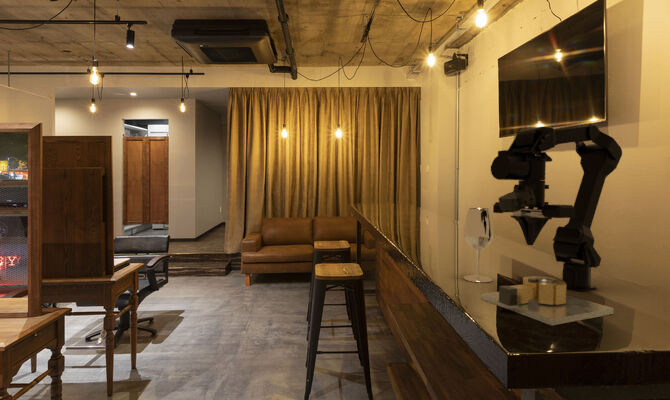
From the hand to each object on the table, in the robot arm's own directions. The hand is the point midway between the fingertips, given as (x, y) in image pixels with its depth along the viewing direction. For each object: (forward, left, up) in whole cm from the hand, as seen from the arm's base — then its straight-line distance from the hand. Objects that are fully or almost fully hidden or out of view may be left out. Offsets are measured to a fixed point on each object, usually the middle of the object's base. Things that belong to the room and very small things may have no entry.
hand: (530, 245), depth 92 cm
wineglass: (+1, -16, -12) cm, 20 cm away
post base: (+5, +8, -12) cm, 15 cm away
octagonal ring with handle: (+9, +8, -10) cm, 16 cm away
